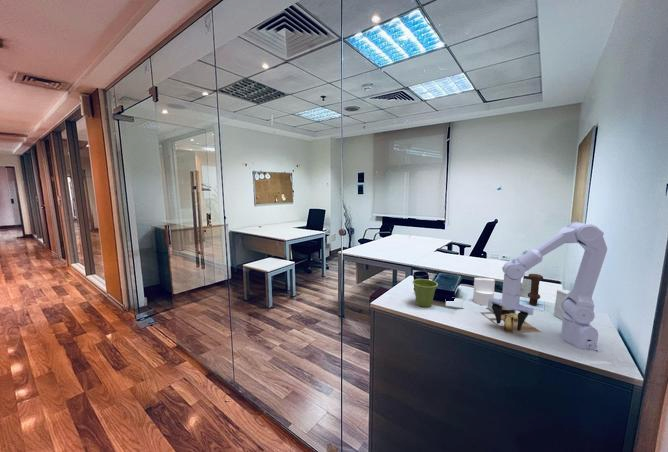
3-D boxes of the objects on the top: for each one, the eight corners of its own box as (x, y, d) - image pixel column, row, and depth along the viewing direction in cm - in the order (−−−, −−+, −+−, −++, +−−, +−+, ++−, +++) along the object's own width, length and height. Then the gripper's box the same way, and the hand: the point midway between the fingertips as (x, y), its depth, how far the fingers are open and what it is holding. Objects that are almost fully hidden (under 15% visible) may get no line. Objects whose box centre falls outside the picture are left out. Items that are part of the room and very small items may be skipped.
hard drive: (464, 308, 125) (463, 298, 137) (445, 305, 129) (445, 296, 140) (464, 311, 126) (462, 301, 137) (445, 308, 129) (445, 299, 140)
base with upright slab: (475, 304, 132) (477, 281, 131) (470, 298, 141) (472, 275, 139) (496, 306, 130) (497, 282, 129) (489, 299, 139) (491, 277, 137)
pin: (514, 331, 104) (515, 317, 103) (507, 332, 104) (508, 317, 103) (509, 328, 107) (510, 313, 106) (502, 328, 107) (503, 313, 106)
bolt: (542, 307, 129) (545, 277, 127) (530, 306, 130) (533, 276, 128) (535, 302, 135) (538, 273, 133) (524, 301, 136) (527, 273, 134)
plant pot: (410, 307, 129) (411, 284, 128) (413, 298, 140) (413, 277, 139) (436, 311, 125) (437, 288, 123) (437, 302, 135) (438, 280, 134)
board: (543, 334, 104) (544, 327, 103) (506, 335, 103) (507, 327, 103) (504, 309, 127) (504, 303, 126) (473, 309, 126) (473, 303, 126)
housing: (515, 314, 119) (516, 305, 118) (497, 314, 118) (498, 305, 118) (505, 307, 126) (505, 299, 125) (487, 307, 125) (488, 299, 125)
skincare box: (553, 315, 120) (555, 289, 119) (562, 315, 121) (565, 289, 119) (565, 321, 114) (568, 294, 113) (575, 321, 114) (578, 294, 113)
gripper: (537, 295, 100) (533, 330, 102) (494, 285, 112) (492, 316, 113) (531, 300, 96) (528, 336, 97) (487, 289, 107) (485, 321, 109)
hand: (508, 326), depth 105 cm, fingers open, 6 cm apart
